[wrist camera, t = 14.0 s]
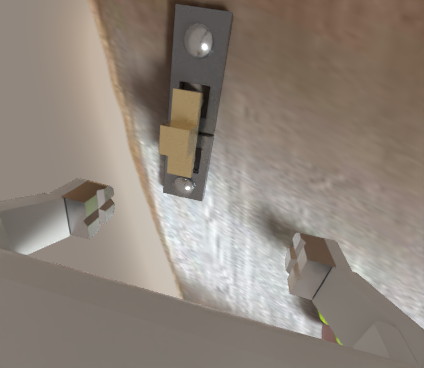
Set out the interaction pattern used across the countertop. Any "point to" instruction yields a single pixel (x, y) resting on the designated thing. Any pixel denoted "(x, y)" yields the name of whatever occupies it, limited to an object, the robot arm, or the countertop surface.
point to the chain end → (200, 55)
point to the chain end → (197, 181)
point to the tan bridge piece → (181, 132)
